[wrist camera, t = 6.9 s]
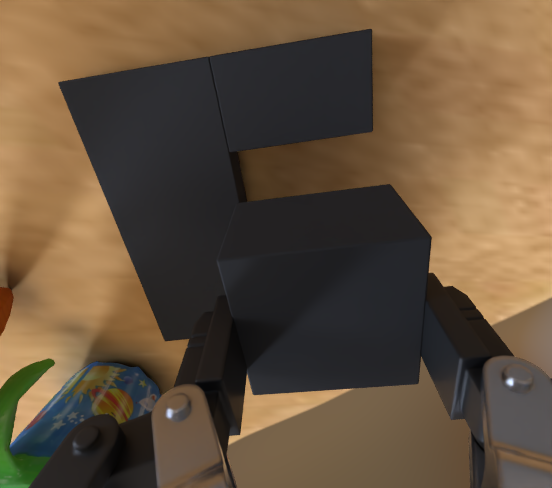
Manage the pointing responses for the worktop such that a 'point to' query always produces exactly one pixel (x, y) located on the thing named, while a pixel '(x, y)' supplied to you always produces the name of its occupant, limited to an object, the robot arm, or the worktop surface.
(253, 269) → the small block
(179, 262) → the base pad
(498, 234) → the worktop surface
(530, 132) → the worktop surface
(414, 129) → the worktop surface
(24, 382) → the snack cup
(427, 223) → the worktop surface
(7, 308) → the carrot
